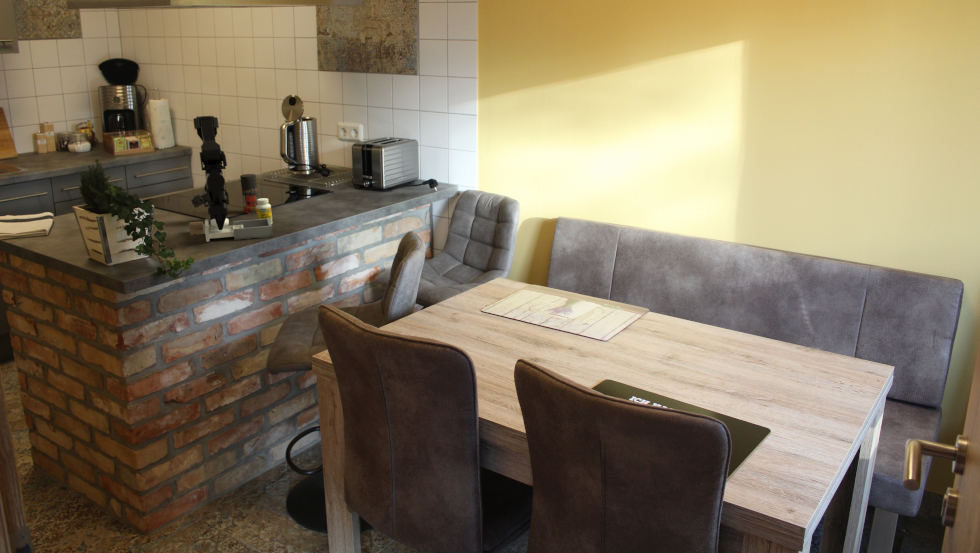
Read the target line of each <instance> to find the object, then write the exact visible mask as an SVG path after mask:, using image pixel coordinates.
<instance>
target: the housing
mask: <svg viewBox="0 0 980 553" xmlns="http://www.w3.org/2000/svg"><path fill="white" fill-rule="evenodd" d="M233 225H243V228H237V229H233V231H234V241H242V240H241V239H246V240H252V239H251V238H258V239H268V238H274V234H273V223H272V224H271V221H270V218H268V219H258V218H257V219H256V218H255V219H246V220H245V219H244V220H233V221H232V226H233Z"/></svg>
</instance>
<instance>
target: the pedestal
mask: <svg viewBox="0 0 980 553" xmlns="http://www.w3.org/2000/svg"><path fill="white" fill-rule="evenodd" d="M188 227H189V233H190V236H195V235H194V234H196V235H205V234H204V230H205V224H204V221H193V222H189V225H188Z"/></svg>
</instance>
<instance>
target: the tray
mask: <svg viewBox="0 0 980 553" xmlns="http://www.w3.org/2000/svg"><path fill="white" fill-rule="evenodd" d="M237 228H243V225H233V224H232V225H227V226H224V227H223V229H222V230H219V229H218V227H212V226H211V227H210V223H209V218H206V219H204V234H203V235H205V241H206V242H210V239H221V238H233V237H234V231H233V229H237Z"/></svg>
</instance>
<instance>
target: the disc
mask: <svg viewBox="0 0 980 553" xmlns="http://www.w3.org/2000/svg"><path fill="white" fill-rule="evenodd" d="M210 221H211V223H210V226H211V227H218V226H217V223H216V220H215V219H212V220H210ZM224 226H230V222H229V218H226V219H225V222H224ZM224 226H223V227H224Z"/></svg>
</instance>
